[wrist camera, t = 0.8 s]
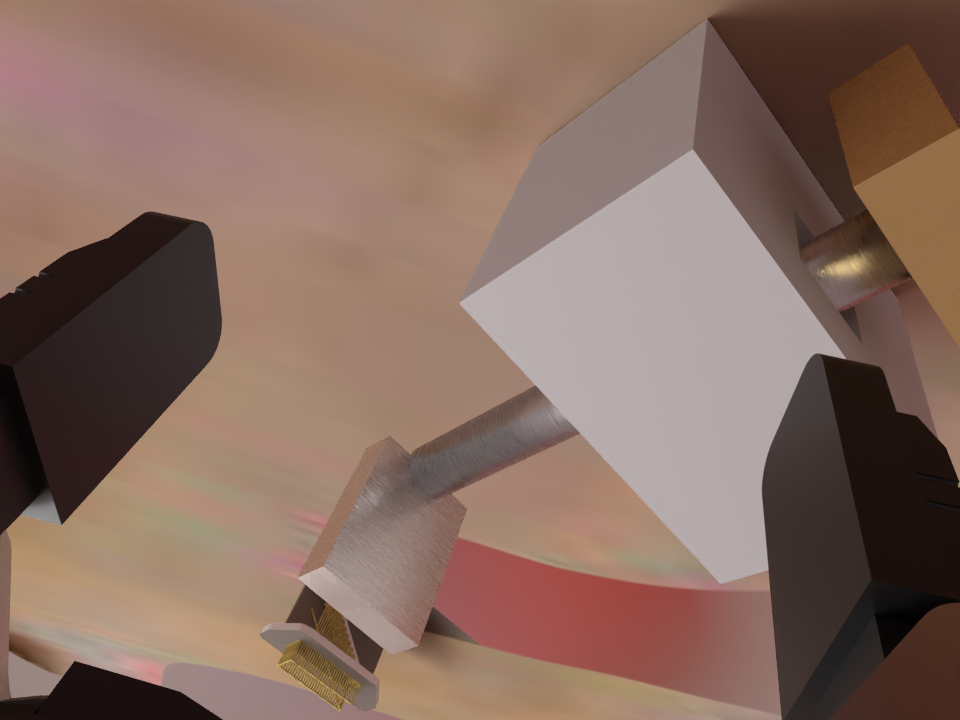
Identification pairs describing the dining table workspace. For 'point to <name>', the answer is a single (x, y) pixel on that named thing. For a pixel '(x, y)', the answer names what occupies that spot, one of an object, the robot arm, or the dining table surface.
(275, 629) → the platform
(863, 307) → the block
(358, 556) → the shaft
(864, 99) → the spacer
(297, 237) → the dining table surface
